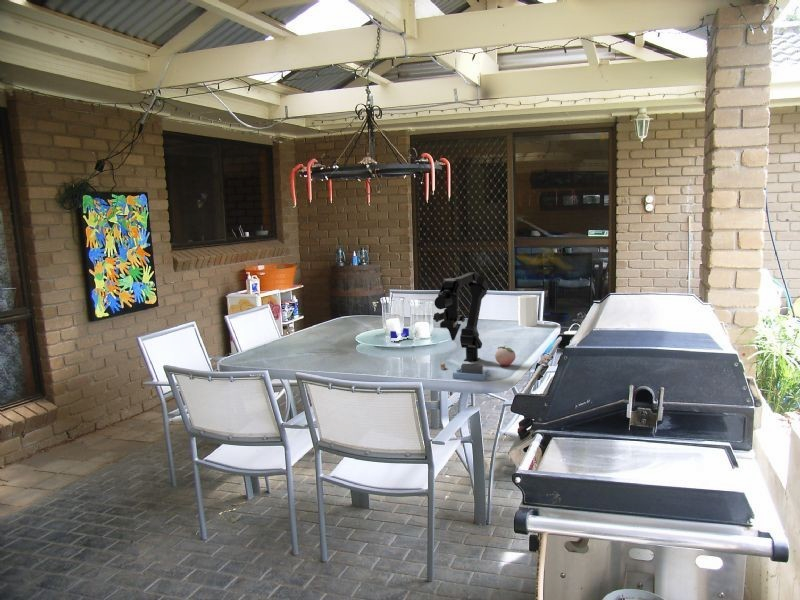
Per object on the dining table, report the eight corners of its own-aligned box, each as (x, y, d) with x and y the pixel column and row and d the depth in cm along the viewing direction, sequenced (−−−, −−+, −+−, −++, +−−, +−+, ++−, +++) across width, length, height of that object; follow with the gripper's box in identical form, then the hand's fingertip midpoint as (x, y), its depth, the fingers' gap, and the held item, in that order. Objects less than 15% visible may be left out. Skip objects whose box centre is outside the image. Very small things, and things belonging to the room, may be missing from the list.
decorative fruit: (491, 367, 283) (490, 345, 282) (501, 363, 289) (500, 342, 288) (509, 370, 277) (508, 348, 275) (518, 366, 283) (518, 344, 281)
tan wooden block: (442, 368, 285) (442, 362, 285) (471, 369, 280) (471, 364, 280) (440, 369, 282) (440, 364, 282) (470, 371, 277) (469, 365, 277)
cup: (538, 324, 383) (538, 295, 380) (535, 328, 372) (535, 297, 370) (520, 324, 387) (519, 294, 384) (517, 327, 376) (516, 297, 374)
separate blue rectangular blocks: (458, 373, 274) (458, 368, 274) (489, 375, 269) (489, 369, 268) (452, 378, 266) (452, 372, 266) (484, 380, 261) (484, 374, 261)
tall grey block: (462, 374, 273) (462, 363, 272) (483, 375, 271) (482, 363, 270) (461, 377, 269) (461, 365, 268) (482, 377, 267) (482, 366, 266)
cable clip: (403, 337, 361) (402, 327, 360) (409, 338, 358) (408, 328, 357) (388, 341, 352) (388, 330, 351) (394, 342, 349) (394, 331, 348)
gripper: (441, 302, 292) (442, 335, 295) (428, 309, 275) (429, 343, 277) (464, 303, 288) (465, 336, 290) (452, 309, 271) (453, 344, 273)
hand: (453, 340), depth 283 cm, fingers closed
